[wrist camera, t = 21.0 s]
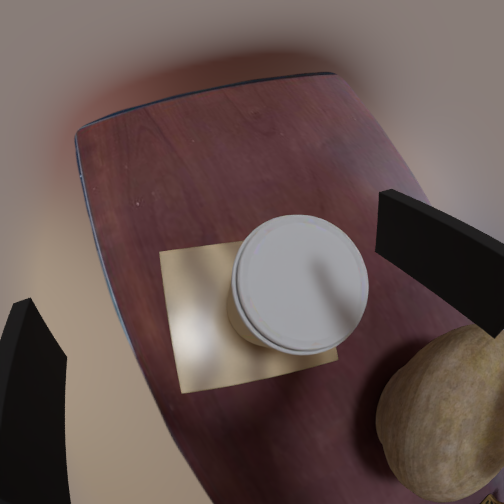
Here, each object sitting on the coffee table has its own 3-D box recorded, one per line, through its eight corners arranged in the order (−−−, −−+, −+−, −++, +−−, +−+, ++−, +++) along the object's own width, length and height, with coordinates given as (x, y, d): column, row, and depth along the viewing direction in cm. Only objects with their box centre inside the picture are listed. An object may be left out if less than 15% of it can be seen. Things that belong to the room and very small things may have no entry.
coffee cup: (290, 249, 33) (339, 197, 21) (323, 333, 30) (391, 320, 19) (204, 277, 30) (211, 231, 19) (237, 368, 28) (266, 379, 17)
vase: (413, 304, 42) (586, 239, 14) (472, 395, 39) (615, 384, 11) (313, 415, 35) (516, 486, 7) (393, 497, 32) (541, 557, 4)
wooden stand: (184, 384, 34) (181, 393, 26) (165, 271, 37) (159, 251, 30) (311, 359, 37) (338, 359, 30) (288, 254, 41) (309, 232, 34)
